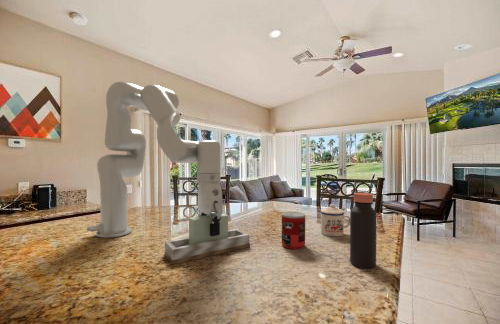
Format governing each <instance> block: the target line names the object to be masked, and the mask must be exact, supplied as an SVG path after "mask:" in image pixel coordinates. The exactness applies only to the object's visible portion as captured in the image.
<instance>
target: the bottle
mask: <svg viewBox="0 0 500 324" xmlns="http://www.w3.org/2000/svg"><path fill="white" fill-rule="evenodd" d="M373 200H374V194H373V193H369V192H354V193H353V202H354V206H353V207H352V208H351V209H350V215H349V217H350V226H349V227H350V229H349V230H350V231H349V232H350V233H349V234H350V235H349V237H350V238H349V245H350V246H349V262H350V263H351V265H353V266H355V267H357V268H361V269H365V270H366V269H367V270H368V269H369V270H370V269H374V268H376V267H377V216H378V215H377V211H376V210H375V209H374V208H373V206H372V205H373V202H374V201H373Z"/></svg>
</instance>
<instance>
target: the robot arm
mask: <svg viewBox="0 0 500 324" xmlns="http://www.w3.org/2000/svg"><path fill="white" fill-rule="evenodd" d="M105 101H106V102H105V104H106V120H105V121H106V122H105V133H104V145H105V148H107V150H109V151H113V152H114V151H115V152H126V154H123V153H121V154H120V153H119V154H118V153H116V154H114V153H112V154H111V153H110V154H105V155H103V156H101V157H99V159H98V160H97V164H96V167H97V169H96V170H97V173H98V177H99V191H100V222H99V223H98V224H96V225H88V226H86V232H91V233H92V232H95V235H96V237H98V238H103V239H104V238H105V239H106V238H118V237H123V236H126V235H128V234H131V233H132V231H133V228H132V227H131V226H129V225H128V222H129V221H128V220H129V219H128V218H129V217H128V216H129V214H128V208H129V207H128V186H127V184H126V182H125V181H124V179H123V178H131V177H138V176H139V175H140V174H141V173H142V171H143V168H144V162H145V155H146V154H145V153H146V147H147V145H146V144H147V140H146V137H145V134H144V133H143V132H142V131H140V130H139V129H134V128H132V127H131V126H132V115H131V113H130V110H129V108H128V107H130V108H131V107H132V108H135V109H138V110H139V109H140V110H145V111H148V112H149V113H150V115H151V117H152V119H153V120H154V122H155V123H156V124H157V127H156V139H157V143H158V145H159V147H160V148H161V150H162V152H163V153H164V155H165V156H166V157H167V158H168V160H170V161H172V162H173V163H176V164H196V165H197V166H196V167H197V168H196V170H197V171H196V175H197V176H196V177H197V179H196V180H197V182H196V183H197V184H198V189H197V209H198V210H197V211H198V216H206V215H209V216H210V221H211V223H210V236H211V237H212V236H217V235H220V219H221V215H222V213H224V212H223V211H224V210H223V207H224V206H223V191H222V190H223V189H222V185H221V182H222V181H221V169H222V167H221V165H222V164H221V163H222V162H221V151H222V150H221V143H220V142H219V141H217V140H210V139H209V140H200V141H196V140H187V139H181V138H180V136H179V134H178V133H177V132H176V130H175V129H174V127H176V126H177V125H178V123H179V122H180V121H181V114H180V112H179V110H178V107H179V104H180V101H179V97H178V95H177V94H176V93H175V92H174V91H173V90H171V89H168V88H165V87H164V86H163V87H162V86H160V85H157V84H148V85H145V86H143V87H142V86H139V85H137V84H134V83H130V82H127V81H116V82H114V83H112V84H111V85H110V86H109V87H108V89H107V92H106V97H105ZM213 216H215V217H214V219H213Z"/></svg>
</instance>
